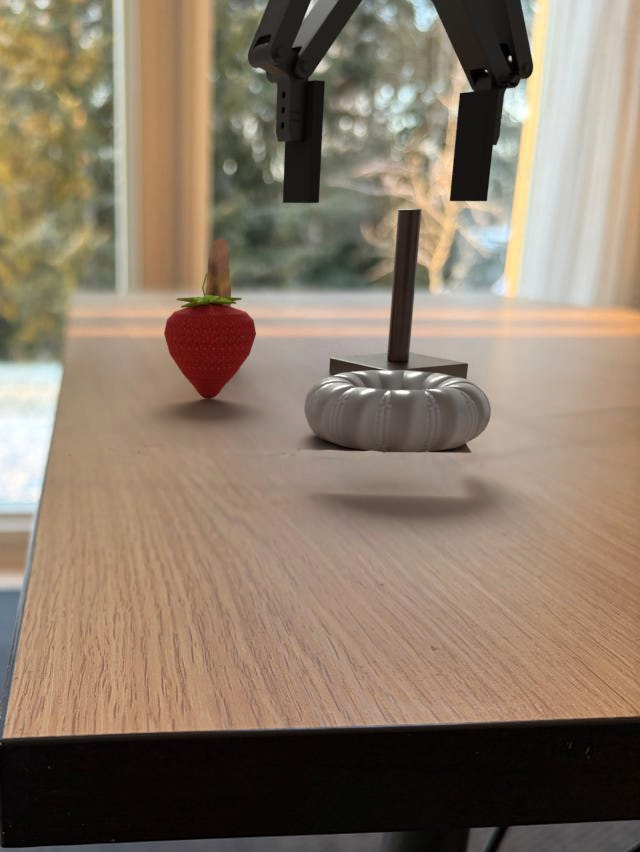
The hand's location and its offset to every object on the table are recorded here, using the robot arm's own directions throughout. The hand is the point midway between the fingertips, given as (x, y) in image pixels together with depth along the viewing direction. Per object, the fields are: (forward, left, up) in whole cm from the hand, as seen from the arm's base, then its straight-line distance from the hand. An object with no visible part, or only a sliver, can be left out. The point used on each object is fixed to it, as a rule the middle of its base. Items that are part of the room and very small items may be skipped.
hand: (387, 202), depth 67 cm
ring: (-2, 0, -13) cm, 13 cm away
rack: (-19, -21, -15) cm, 32 cm away
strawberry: (+2, -19, -15) cm, 25 cm away
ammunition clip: (-6, -32, -15) cm, 36 cm away
